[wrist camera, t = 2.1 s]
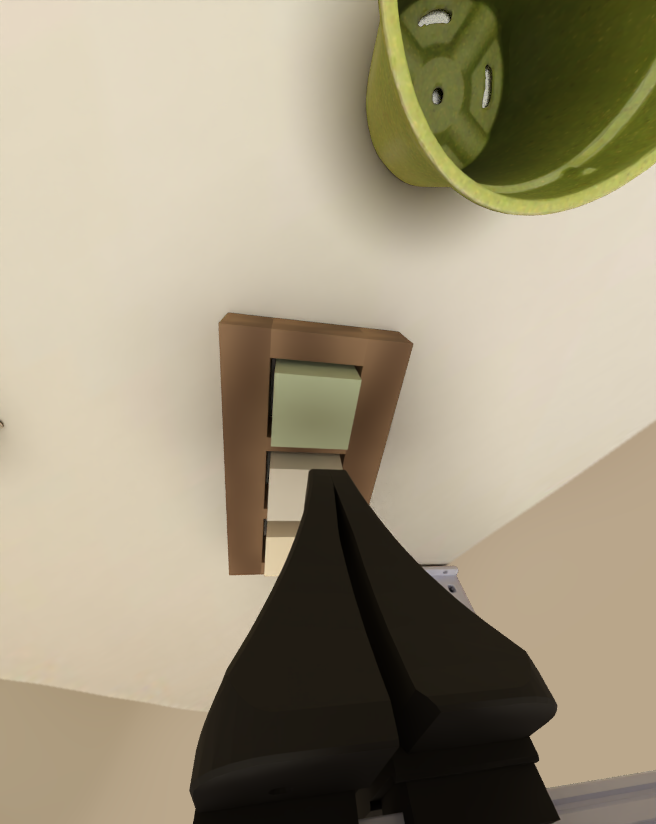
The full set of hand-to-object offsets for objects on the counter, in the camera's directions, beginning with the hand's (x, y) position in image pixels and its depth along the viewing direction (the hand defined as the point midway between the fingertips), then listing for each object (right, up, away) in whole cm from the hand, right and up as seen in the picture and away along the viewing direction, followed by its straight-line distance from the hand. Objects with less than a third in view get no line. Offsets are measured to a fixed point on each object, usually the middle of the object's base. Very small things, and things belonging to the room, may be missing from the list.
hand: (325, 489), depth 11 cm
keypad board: (-2, -1, +11) cm, 11 cm away
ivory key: (-2, -1, +10) cm, 10 cm away
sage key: (-1, +4, +7) cm, 8 cm away
